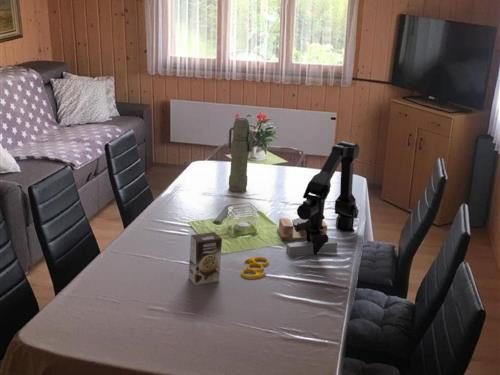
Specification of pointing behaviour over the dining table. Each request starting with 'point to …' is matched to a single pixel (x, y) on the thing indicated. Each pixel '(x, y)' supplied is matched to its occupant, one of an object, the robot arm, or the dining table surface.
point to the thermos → (239, 154)
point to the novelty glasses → (256, 271)
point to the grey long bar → (309, 248)
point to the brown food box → (205, 258)
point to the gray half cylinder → (222, 215)
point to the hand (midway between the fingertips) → (311, 249)
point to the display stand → (293, 230)
